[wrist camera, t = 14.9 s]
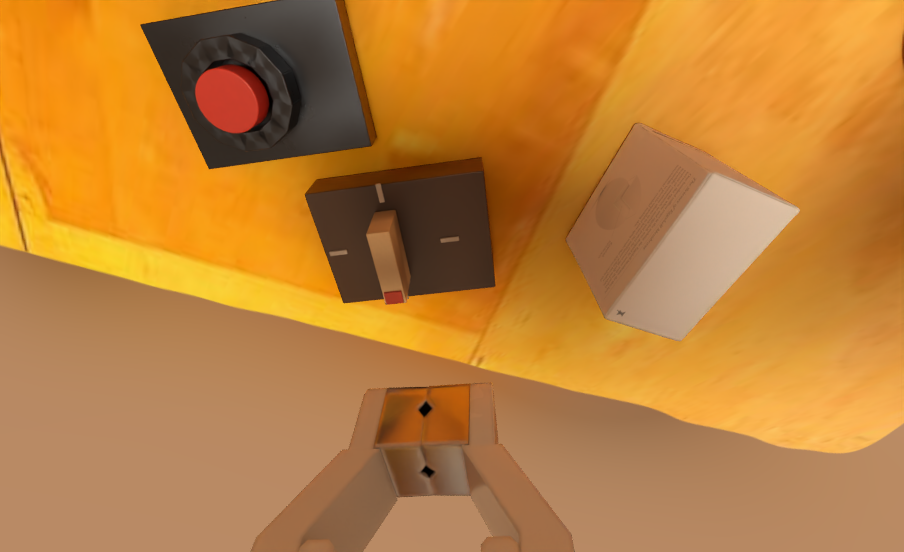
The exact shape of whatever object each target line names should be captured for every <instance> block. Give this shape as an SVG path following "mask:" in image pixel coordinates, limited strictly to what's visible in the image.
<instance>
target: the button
mask: <svg viewBox="0 0 904 552" xmlns="http://www.w3.org/2000/svg"><path fill="white" fill-rule="evenodd" d="M195 94H196V100H197V103H198V106H199V108H200V110H201V112H202V113H203V115H204V116H205V117H206V118H207V119H208V120H209V122H211V123H212V124H213V125H214V126H216V127H217V128H219V129H221V130H223V131H226V132H230V133H243V132H246V131H248V130H250V129H251V128H253V127H255V126H256V125H258V124H259V123H261V122H262V121H263V120H264V119H265V117H266V116H267V113H268V110H269V98H268V94H267V91H266V89H265V87H264V85H263V83H262V82H261V81H260V79H259V78H258V77H257V76H256V75H255V74H254V73H252V72H251V71H250V70H248V69H246V68H244V67H242V66H239V65H234V64H228V65H223V66H220V67H216V68H213V69H209V70H207V71H205V72H204V73H203V74H202V75H201V76H200V77H199V79H198V81H197V84H196V89H195Z"/></svg>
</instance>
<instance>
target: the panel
mask: <svg viewBox="0 0 904 552" xmlns="http://www.w3.org/2000/svg"><path fill="white" fill-rule="evenodd" d="M305 197H306V200H307V203H308V206H309V208H310V211H311V214H312V217H313V219H314V222H315V225H316V228H317V231H318V233H319V236H320V239H321V242H322V244H323V247H324V250H325V253H326V256H327V258H328V261H329V264H330V267H331V269H332V272H333V275H334V278H335V281H336V283H337V286H338V289H339V292H340V294H341V297H342V300H343V303H351V302H360V301H369V300H378V299H384V297H383V293H382V289H381V286H380V282H379V279H378V275H377V272H376V268H375V265H374V261H373V257H372V254H371V250H370V247H369V243H368V240H367V236H366V233H367V231H368V228H369V226H370V223H371V220H372V218H373V215H374V213H375V212H381V211H389V210H396V214H397V218H398V223H399V227H400V232H401V236H402V240H403V245H404V249H405V253H406V258H407V262H408V267H409V271H410V275H411V278H410V284H409V290H408V296H407V299H409V296H415V295H424V294H434V293H443V292H452V291H461V290H470V289H480V288H489V287H495V277H494V267H493V257H492V248H491V238H490V228H489V218H488V209H487V199H486V189H485V179H484V170H483V164H482V158H481V157H480V158H473V159H465V160H458V161H451V162H443V163H436V164H429V165H421V166H414V167H407V168H399V169H392V170H385V171H377V172H370V173H363V174H355V175H348V176H341V177H333V178H326V179H319V180H316V181H315V182H314V183H313V185H312V186H311V187H310V188H309V190H308V191H307V192H306V194H305Z"/></svg>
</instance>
